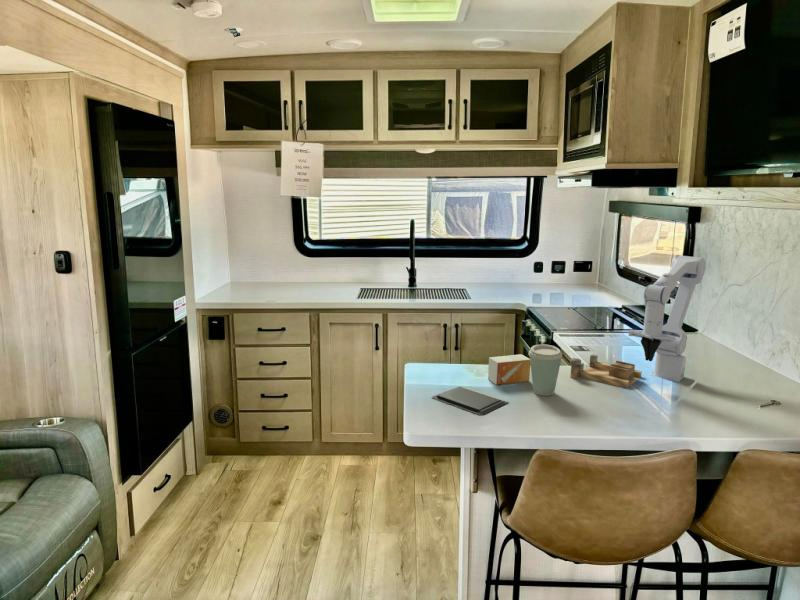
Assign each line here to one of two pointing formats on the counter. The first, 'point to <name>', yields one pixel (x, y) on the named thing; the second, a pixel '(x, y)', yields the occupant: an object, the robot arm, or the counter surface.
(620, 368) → the crate
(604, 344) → the counter surface
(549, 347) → the disposable coffee cup
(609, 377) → the wooden base
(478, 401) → the dark grey rectangular slab
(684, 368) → the robot arm
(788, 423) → the counter surface
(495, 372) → the small box
